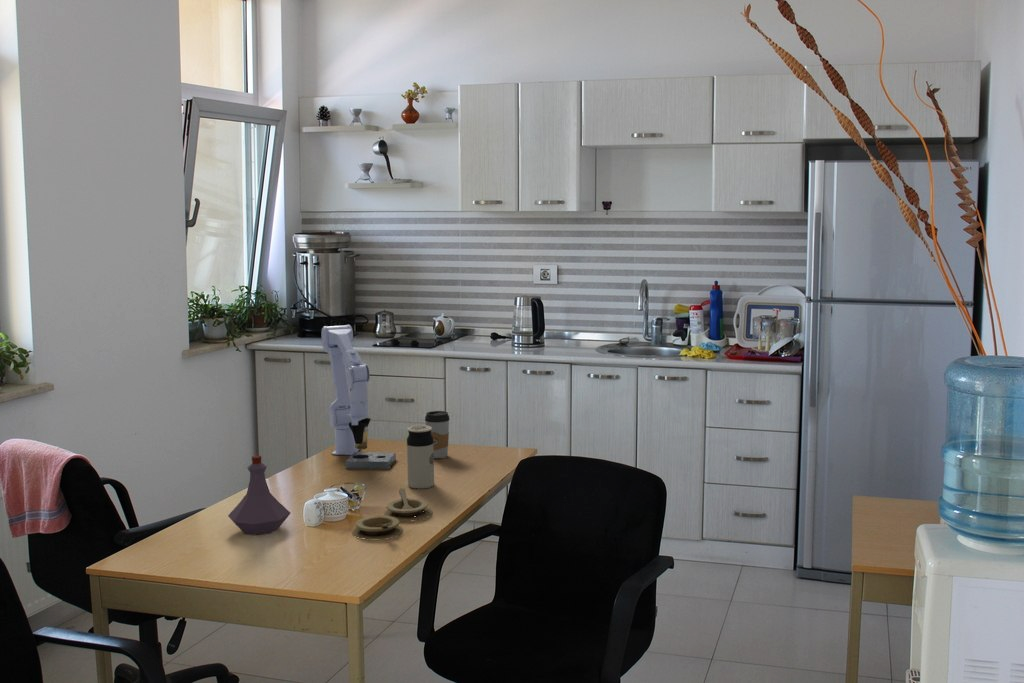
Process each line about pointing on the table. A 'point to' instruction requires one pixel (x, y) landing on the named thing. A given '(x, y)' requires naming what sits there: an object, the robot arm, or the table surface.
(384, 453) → the block
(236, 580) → the table surface
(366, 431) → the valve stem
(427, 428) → the travel mug
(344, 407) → the robot arm
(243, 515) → the flask
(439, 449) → the coffee cup
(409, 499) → the tableware set
